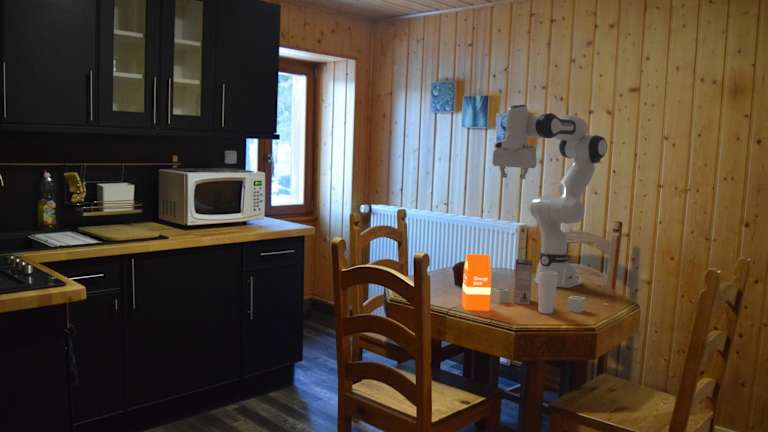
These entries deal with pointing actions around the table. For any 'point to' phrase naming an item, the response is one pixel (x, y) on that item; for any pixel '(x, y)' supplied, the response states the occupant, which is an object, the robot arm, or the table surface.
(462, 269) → the muffin
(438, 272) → the table surface
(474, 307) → the orange juice
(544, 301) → the drinking glass
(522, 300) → the coffee box
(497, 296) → the digit block sage
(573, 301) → the digit block offwhite
